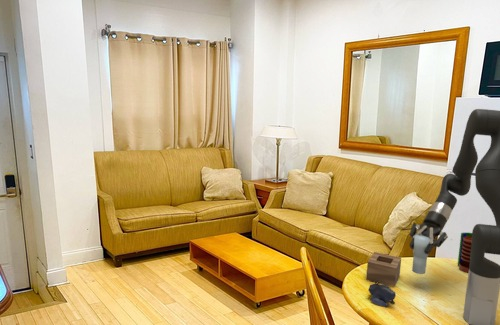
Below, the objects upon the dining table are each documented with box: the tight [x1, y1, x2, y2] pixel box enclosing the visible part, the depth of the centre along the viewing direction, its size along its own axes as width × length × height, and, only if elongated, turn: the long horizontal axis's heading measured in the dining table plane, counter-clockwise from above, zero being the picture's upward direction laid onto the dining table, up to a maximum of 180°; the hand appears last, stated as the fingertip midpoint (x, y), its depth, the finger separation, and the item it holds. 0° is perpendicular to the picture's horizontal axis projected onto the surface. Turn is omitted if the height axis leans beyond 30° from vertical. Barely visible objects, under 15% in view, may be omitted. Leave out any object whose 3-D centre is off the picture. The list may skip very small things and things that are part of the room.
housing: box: [365, 251, 402, 288], centre depth 158 cm, size 12×11×8 cm
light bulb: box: [411, 235, 430, 275], centre depth 150 cm, size 5×5×14 cm
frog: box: [368, 280, 396, 308], centre depth 139 cm, size 9×11×7 cm
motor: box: [456, 232, 486, 274], centre depth 167 cm, size 10×9×20 cm
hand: (418, 250), depth 149 cm, fingers closed on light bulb, 5 cm apart
